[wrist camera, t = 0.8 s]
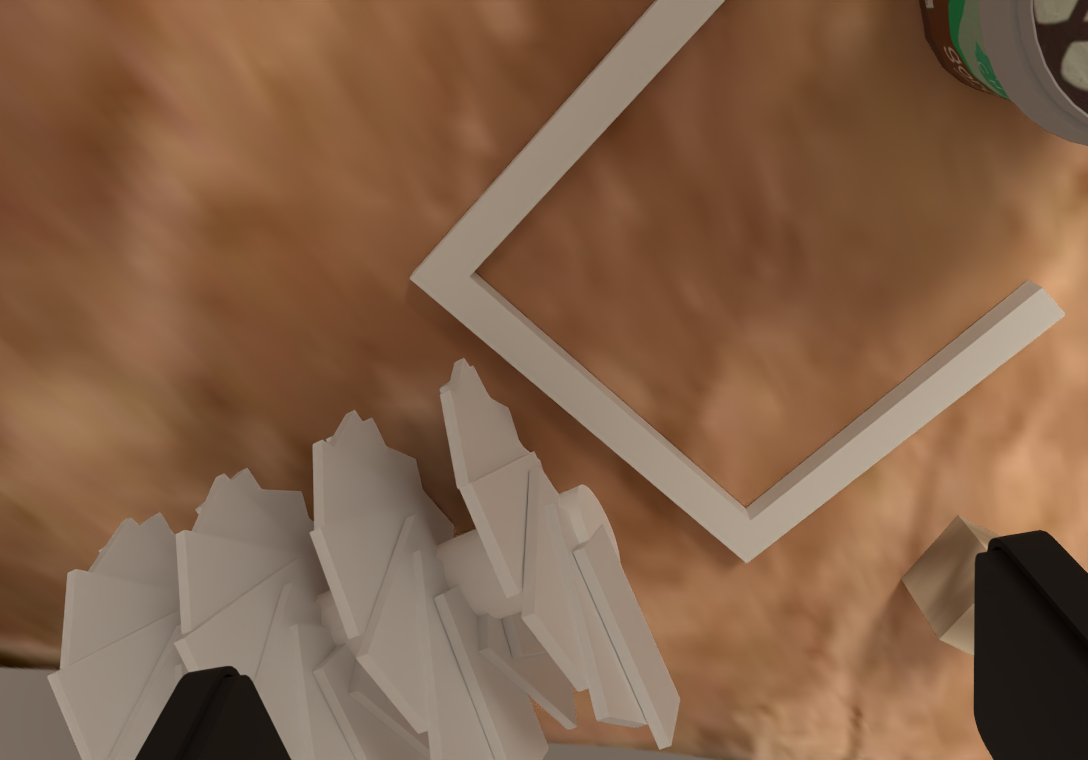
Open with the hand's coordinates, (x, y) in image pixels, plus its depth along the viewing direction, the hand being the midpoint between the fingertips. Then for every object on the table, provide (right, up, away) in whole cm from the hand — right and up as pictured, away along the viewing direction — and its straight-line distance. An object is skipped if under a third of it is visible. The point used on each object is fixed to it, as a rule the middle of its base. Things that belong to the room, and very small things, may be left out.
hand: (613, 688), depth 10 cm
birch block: (+23, -7, +35) cm, 43 cm away
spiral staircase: (-10, -4, +34) cm, 36 cm away
